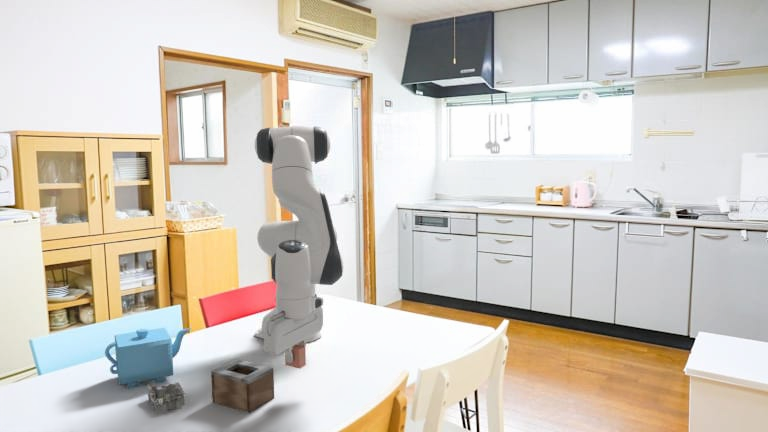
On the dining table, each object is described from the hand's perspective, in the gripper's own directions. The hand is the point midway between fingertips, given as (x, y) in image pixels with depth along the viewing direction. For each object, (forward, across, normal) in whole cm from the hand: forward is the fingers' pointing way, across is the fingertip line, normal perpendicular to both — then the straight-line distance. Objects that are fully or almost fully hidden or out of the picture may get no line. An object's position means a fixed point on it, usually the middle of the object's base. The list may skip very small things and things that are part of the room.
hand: (295, 358), depth 140 cm
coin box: (+9, -9, +10) cm, 16 cm away
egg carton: (+10, -18, +26) cm, 33 cm away
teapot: (+10, -10, +42) cm, 44 cm away
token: (+2, 0, 0) cm, 2 cm away
